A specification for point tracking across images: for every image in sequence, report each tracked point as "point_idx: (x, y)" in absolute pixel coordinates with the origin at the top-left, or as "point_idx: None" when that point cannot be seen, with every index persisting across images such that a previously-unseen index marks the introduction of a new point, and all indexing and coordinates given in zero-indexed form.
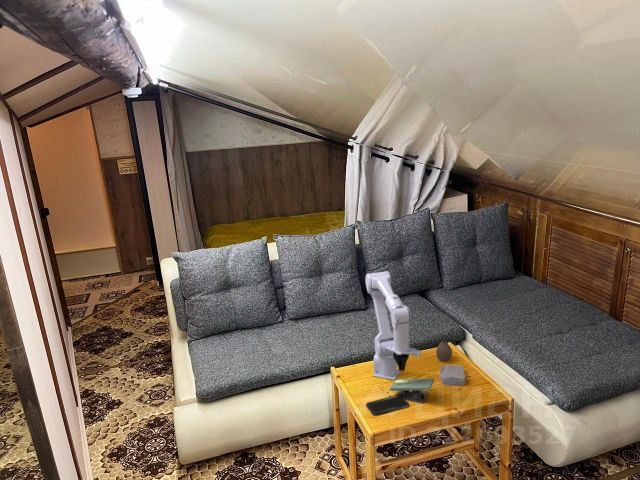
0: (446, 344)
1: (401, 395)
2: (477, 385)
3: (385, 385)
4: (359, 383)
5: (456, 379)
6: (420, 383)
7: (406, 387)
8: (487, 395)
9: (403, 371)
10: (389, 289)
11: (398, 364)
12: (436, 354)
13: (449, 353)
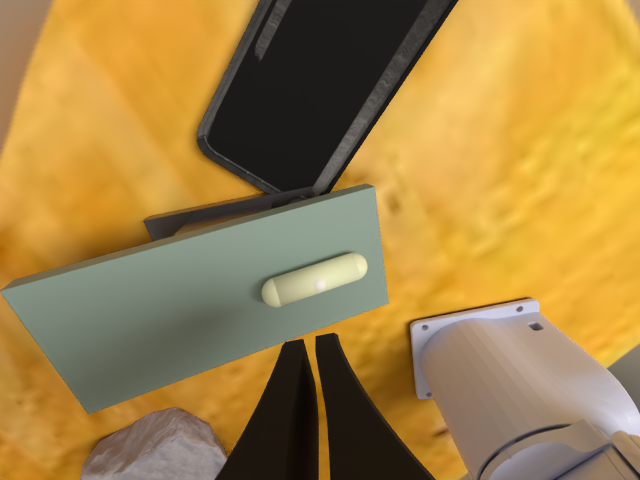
0: None
1: (288, 201)
2: (57, 466)
3: (436, 258)
4: (593, 193)
5: (109, 461)
6: (153, 318)
7: (241, 234)
8: None
9: (283, 345)
10: None
11: (346, 404)
12: None
13: None
